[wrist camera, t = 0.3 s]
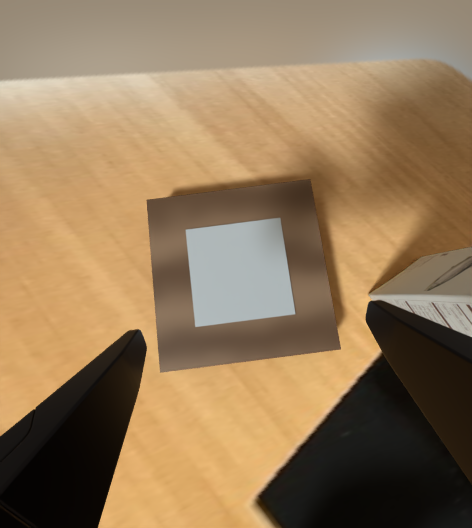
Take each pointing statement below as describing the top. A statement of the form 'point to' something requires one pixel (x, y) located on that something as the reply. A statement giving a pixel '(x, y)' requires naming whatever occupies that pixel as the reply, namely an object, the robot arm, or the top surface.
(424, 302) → the supplement box
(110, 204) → the top surface
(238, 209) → the plinth
